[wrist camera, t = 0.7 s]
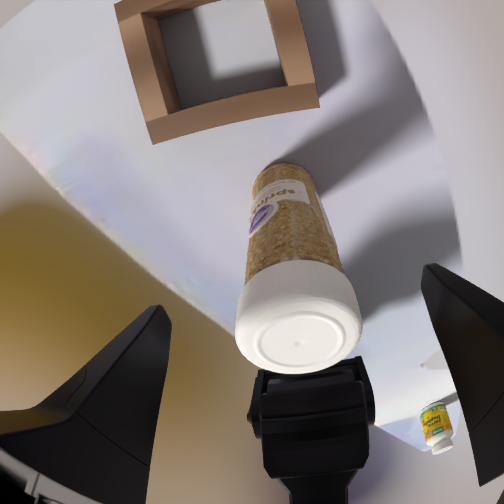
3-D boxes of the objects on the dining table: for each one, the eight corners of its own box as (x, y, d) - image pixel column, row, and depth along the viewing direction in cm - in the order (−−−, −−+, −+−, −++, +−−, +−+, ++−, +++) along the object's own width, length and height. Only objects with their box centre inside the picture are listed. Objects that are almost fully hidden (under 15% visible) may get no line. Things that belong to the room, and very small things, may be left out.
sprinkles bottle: (269, 150, 19) (270, 274, 8) (327, 178, 20) (391, 320, 9) (242, 205, 22) (215, 360, 10) (297, 229, 22) (318, 387, 11)
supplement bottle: (426, 415, 43) (436, 456, 35) (414, 413, 42) (424, 457, 34) (448, 402, 41) (460, 443, 33) (437, 399, 39) (449, 444, 31)
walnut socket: (312, 103, 17) (320, 107, 15) (167, 134, 19) (152, 144, 16) (279, -29, 12) (281, -45, 9) (133, 11, 13) (113, 4, 11)
